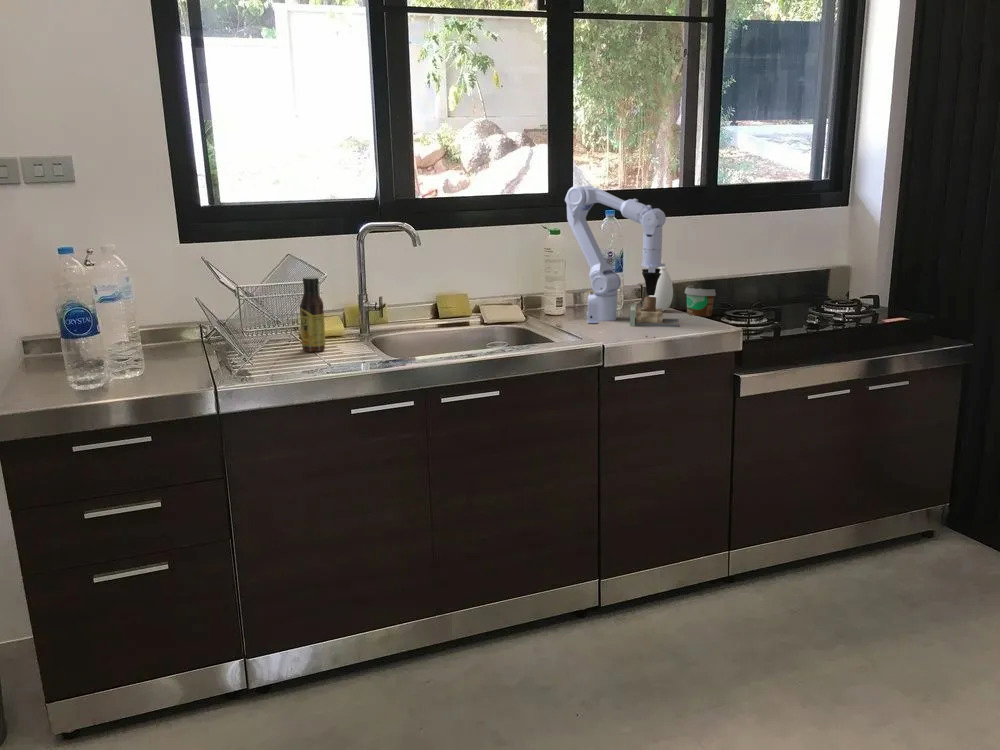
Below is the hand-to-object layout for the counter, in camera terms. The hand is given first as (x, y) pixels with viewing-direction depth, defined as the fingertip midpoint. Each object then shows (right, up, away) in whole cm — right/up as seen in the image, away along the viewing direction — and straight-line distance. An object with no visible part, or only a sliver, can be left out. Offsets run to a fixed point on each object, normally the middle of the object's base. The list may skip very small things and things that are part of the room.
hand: (650, 293), depth 257 cm
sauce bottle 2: (+9, -4, +30) cm, 31 cm away
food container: (+18, -6, +18) cm, 27 cm away
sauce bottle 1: (-97, -19, -32) cm, 104 cm away
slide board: (+2, -10, +2) cm, 11 cm away
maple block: (0, -9, +2) cm, 9 cm away
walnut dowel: (0, -8, +2) cm, 8 cm away
